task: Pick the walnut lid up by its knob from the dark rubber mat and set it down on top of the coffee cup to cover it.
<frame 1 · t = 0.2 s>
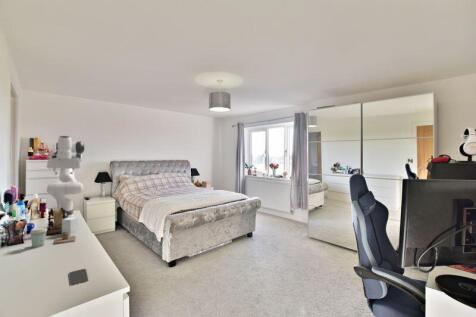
hand: (63, 174, 172), 47 cm above the table, fingers open, 8 cm apart
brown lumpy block: (56, 233, 178), on the table
mat: (65, 241, 160), on the table
supplement box: (69, 234, 175), on the table
lid: (65, 240, 160), resting on mat
smartphone: (78, 278, 110), on the table
coffee cup: (38, 246, 149), on the table
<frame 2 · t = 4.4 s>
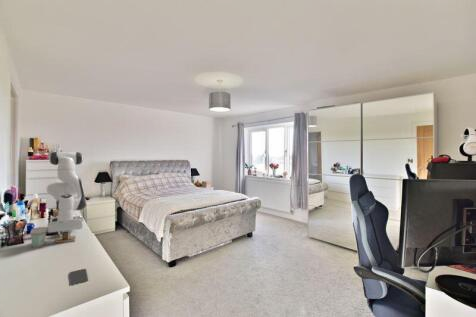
hand: (65, 236, 160), 3 cm above the table, fingers closed on lid, 3 cm apart
lid: (65, 240, 160), resting on mat, touching gripper
everything else where it was.
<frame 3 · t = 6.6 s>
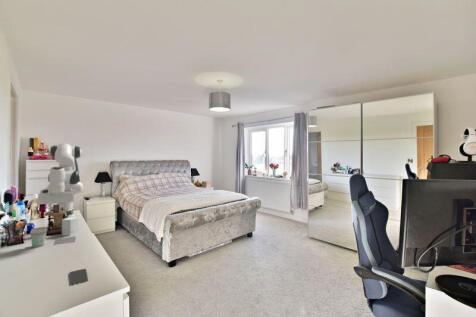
hand: (56, 209, 156), 23 cm above the table, fingers closed on lid, 3 cm apart
lid: (56, 213, 156), point 21 cm above the table, touching gripper
everything else where it was.
when the fingers open (17 cm above the table, at t = 9.0 s): lid drops 2 cm, resting on coffee cup.
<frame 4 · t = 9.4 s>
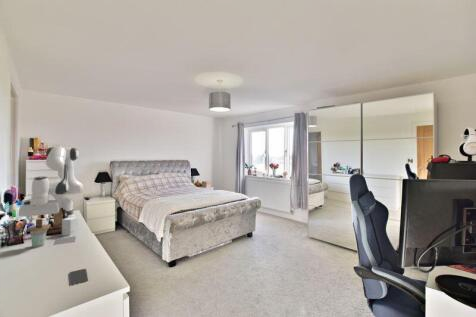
hand: (39, 221, 149), 17 cm above the table, fingers open, 7 cm apart
lid: (38, 228, 149), point 12 cm above the table, touching coffee cup
coffee cup: (38, 246, 149), on the table, touching lid
everything else where it was.
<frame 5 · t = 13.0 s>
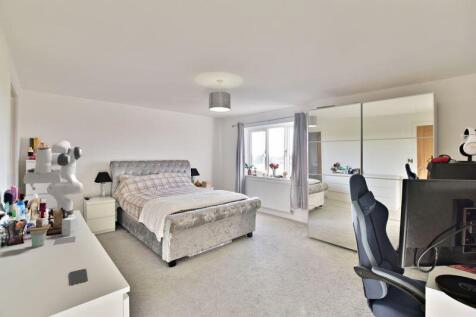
hand: (42, 189, 158), 37 cm above the table, fingers open, 8 cm apart
nothing on the table moved.
at the end: lid inside the target area in the coffee cup (0.1 cm from its centre), point 12.2 cm above the coffee cup's base; lid point 12.0 cm above the table; coffee cup tilted 0° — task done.
